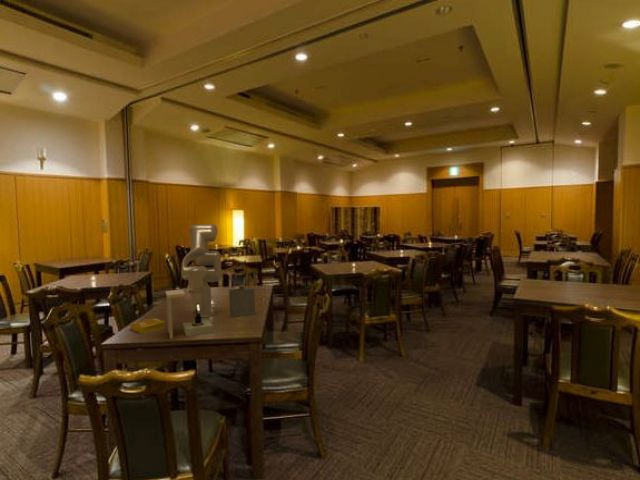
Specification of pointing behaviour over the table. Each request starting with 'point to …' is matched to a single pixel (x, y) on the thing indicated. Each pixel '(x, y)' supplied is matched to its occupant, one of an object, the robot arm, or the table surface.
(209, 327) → the socket block
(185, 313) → the table surface
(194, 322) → the peg
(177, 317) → the table surface
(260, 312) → the table surface
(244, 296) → the hip flask
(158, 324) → the element tile
